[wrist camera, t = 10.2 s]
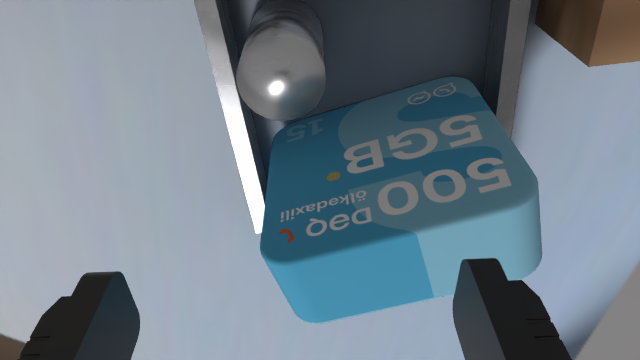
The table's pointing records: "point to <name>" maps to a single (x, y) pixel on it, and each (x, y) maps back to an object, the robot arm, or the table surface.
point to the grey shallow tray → (220, 42)
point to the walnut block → (594, 28)
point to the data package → (395, 201)
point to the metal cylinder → (283, 61)
